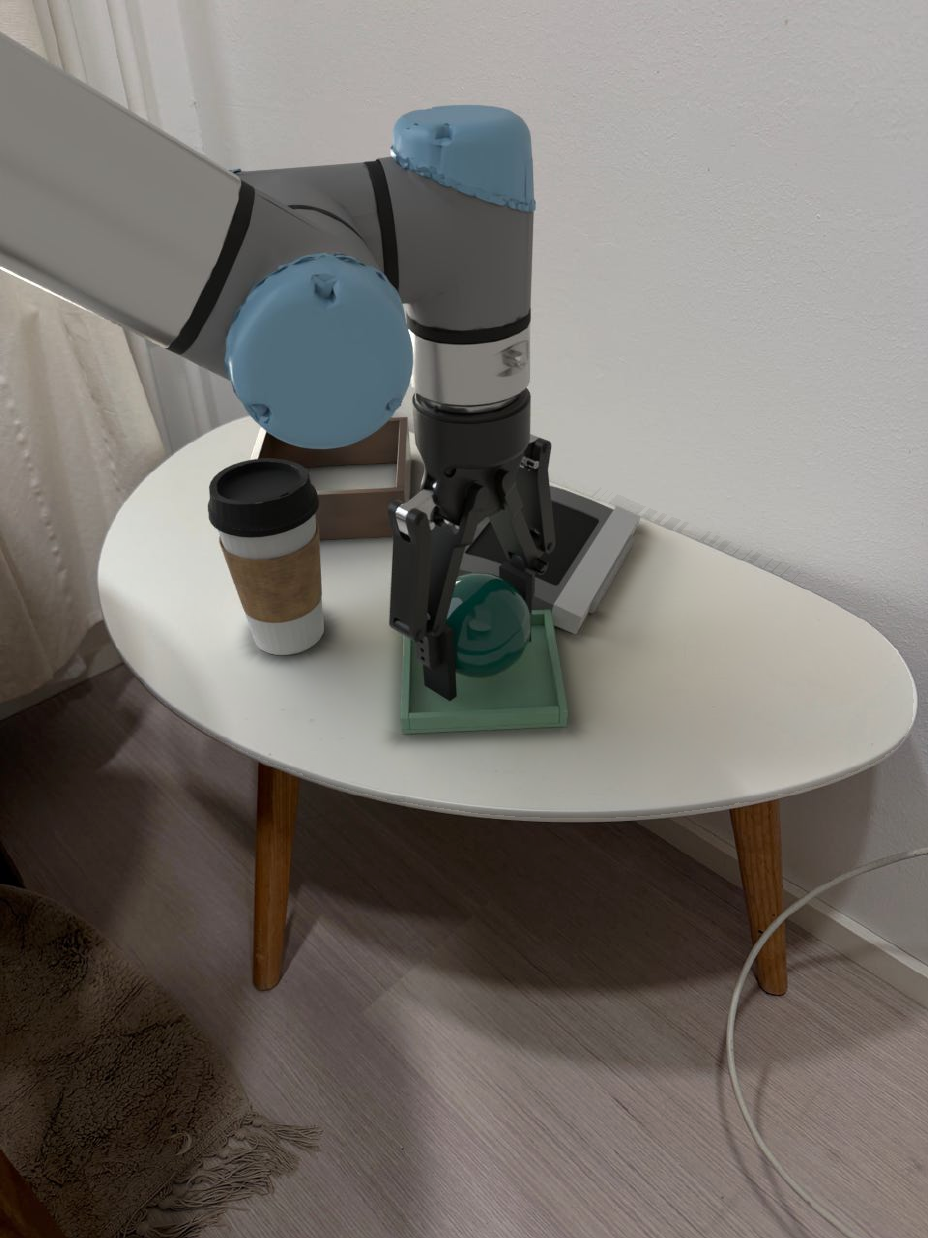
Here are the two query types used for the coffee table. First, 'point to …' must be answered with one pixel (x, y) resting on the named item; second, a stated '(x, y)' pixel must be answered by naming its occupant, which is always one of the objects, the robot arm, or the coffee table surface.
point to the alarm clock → (566, 556)
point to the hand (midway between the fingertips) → (479, 662)
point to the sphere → (487, 625)
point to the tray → (491, 691)
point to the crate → (356, 507)
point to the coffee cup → (272, 549)
